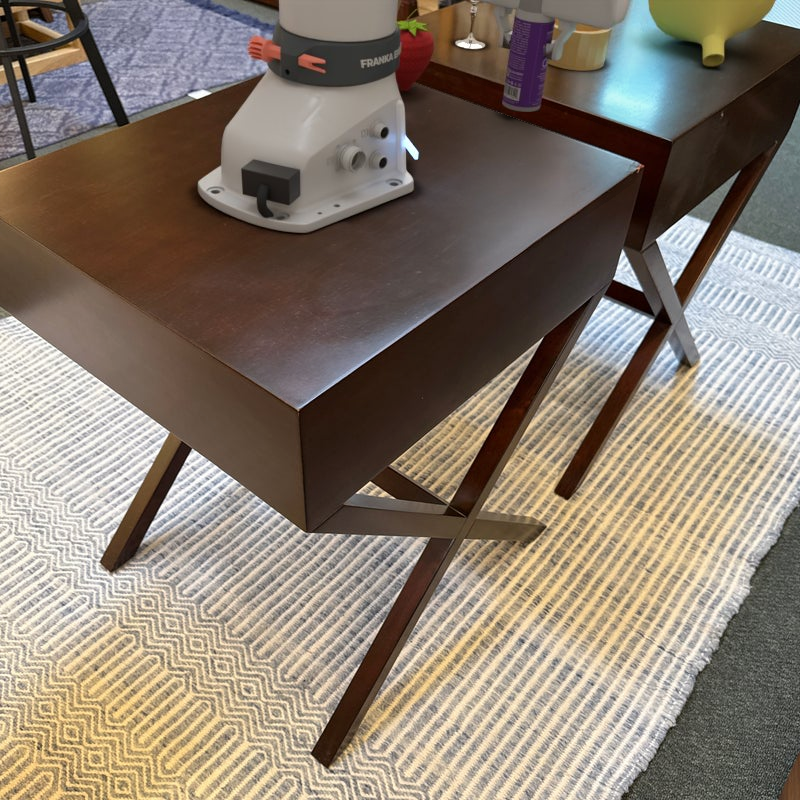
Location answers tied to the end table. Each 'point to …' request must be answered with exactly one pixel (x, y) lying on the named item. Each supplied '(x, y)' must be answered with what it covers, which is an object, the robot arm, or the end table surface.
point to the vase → (708, 21)
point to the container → (527, 57)
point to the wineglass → (471, 30)
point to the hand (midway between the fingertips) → (529, 53)
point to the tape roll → (582, 48)
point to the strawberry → (413, 52)
